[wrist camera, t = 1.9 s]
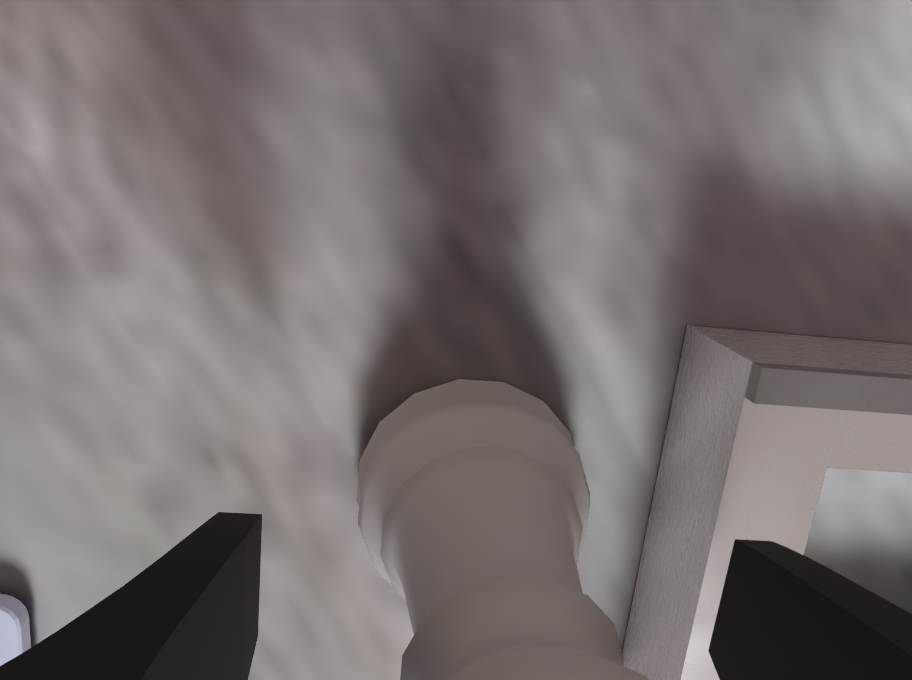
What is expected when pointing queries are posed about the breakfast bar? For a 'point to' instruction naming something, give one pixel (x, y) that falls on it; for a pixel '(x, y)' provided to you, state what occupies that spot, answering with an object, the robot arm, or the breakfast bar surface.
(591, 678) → the rook chess piece
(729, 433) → the block
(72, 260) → the breakfast bar surface
